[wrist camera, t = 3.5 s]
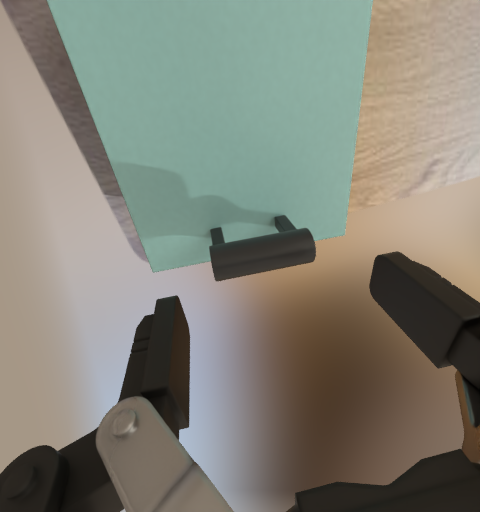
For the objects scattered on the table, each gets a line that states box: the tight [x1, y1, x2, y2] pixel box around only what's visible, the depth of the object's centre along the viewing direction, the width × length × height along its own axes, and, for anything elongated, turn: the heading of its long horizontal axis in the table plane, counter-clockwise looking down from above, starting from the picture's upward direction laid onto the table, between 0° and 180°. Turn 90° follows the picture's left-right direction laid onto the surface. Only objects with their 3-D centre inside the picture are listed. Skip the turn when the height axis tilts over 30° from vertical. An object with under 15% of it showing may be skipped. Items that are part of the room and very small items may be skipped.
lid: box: [46, 0, 373, 281], centre depth 10 cm, size 17×13×5 cm
